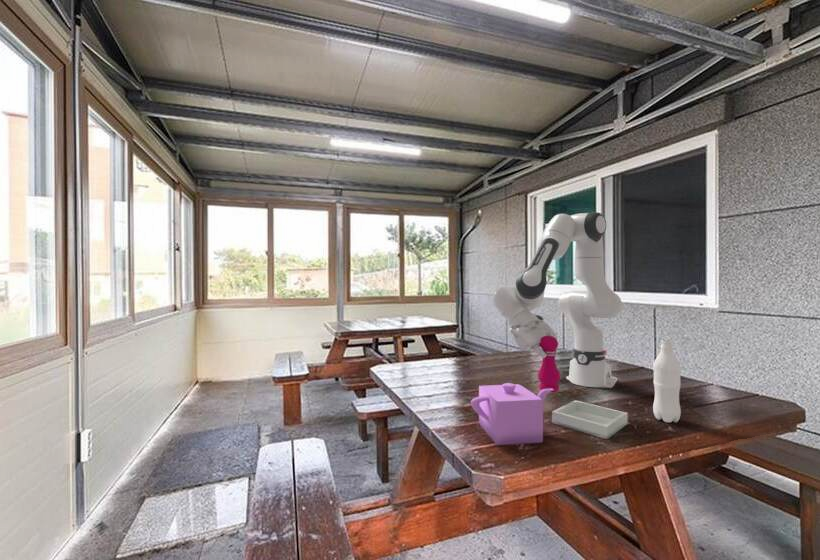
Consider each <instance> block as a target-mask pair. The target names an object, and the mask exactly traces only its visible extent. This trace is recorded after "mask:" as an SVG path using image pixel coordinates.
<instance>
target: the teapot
mask: <svg viewBox="0 0 820 560" xmlns="http://www.w3.org/2000/svg"><path fill="white" fill-rule="evenodd" d="M552 390H553V389H543V390H540V391H539V392H538V394H537V395H536V394H535V393H533V392H532V391H531V390H529V389H528V388H526V387H524V386H523V385H521V384H520V383H517V384H516V383H515V384H514V383H511V382H506V383H503V384H494V385H493V384H491V385H489V384H487V385H479V386H478V396H477V397H474V398H472V399H471V400H470V406H471V408H472V409H473V410H474V411H475V413H477V414H478V424H479V426H480V427H481V428H482V429H483V430H484V431H485V432H486V434H487V435H488V436H489V437H490V439H491V440H492V441H493V442H494V443H495V444H496V446H506V445H507V446H508V445H522V444H523V445H524V444H538V443H543V442H544V432H543V431H544V428H543V427H544V402H545V399H546V397H547V395H549V393H552V392H551V391H552Z"/></svg>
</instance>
